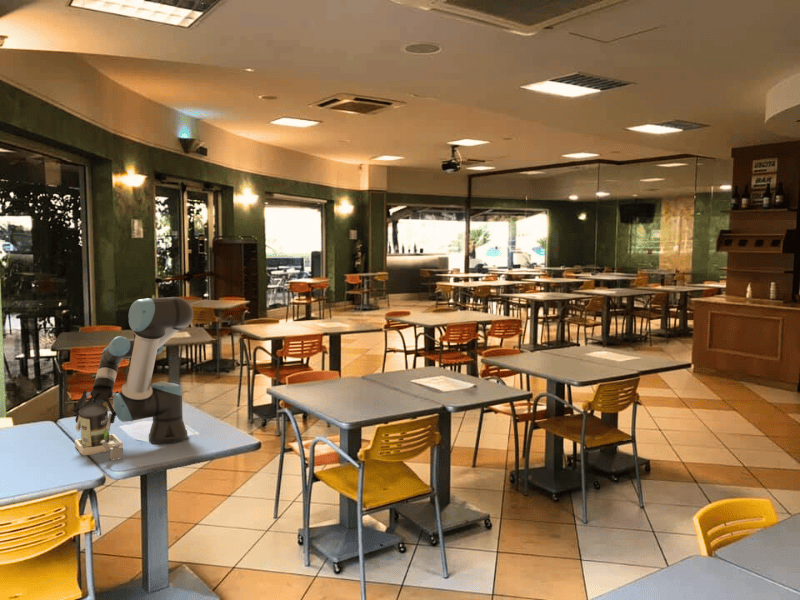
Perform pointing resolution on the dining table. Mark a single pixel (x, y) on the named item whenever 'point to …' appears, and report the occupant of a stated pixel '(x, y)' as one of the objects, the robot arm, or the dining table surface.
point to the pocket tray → (97, 449)
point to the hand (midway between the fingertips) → (92, 430)
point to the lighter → (113, 450)
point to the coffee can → (93, 425)
